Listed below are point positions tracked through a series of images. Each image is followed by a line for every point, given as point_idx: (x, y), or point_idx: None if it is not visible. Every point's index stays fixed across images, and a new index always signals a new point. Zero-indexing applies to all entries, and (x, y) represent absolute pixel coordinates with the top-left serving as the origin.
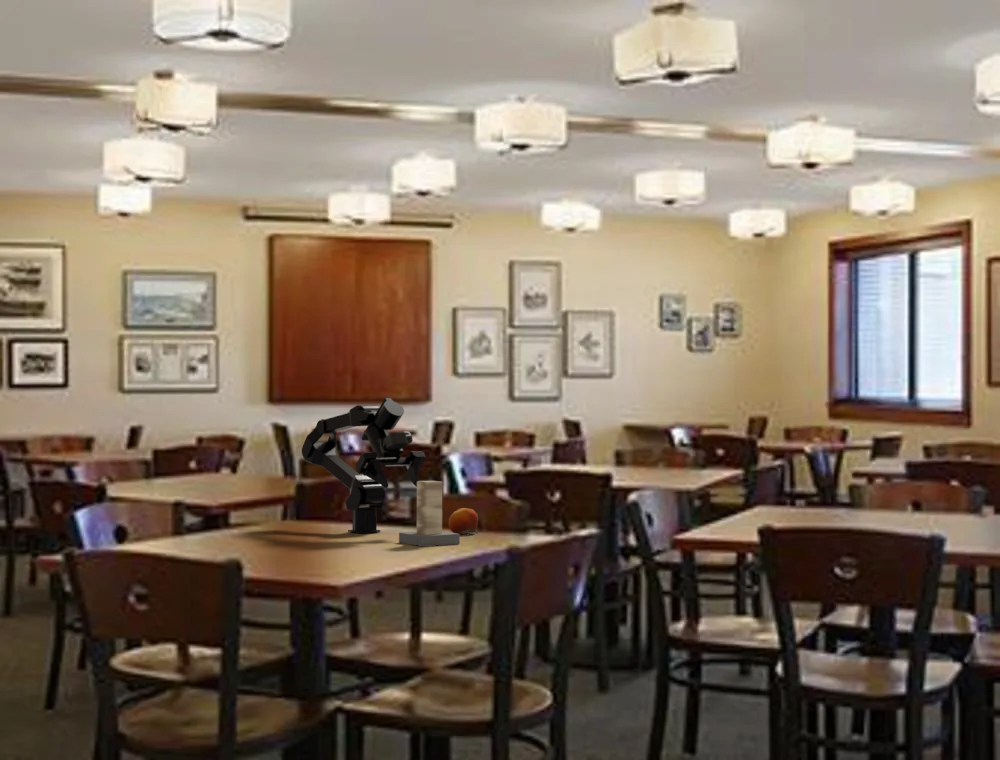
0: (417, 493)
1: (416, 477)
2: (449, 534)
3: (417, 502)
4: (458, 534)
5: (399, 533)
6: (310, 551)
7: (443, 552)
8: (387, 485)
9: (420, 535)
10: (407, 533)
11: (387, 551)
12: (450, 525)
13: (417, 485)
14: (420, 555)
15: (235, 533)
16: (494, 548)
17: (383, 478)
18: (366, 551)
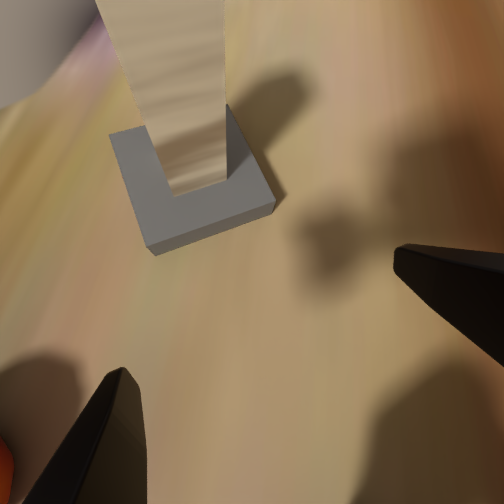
0: (222, 57)
1: (86, 441)
2: (142, 128)
3: (223, 97)
4: (113, 134)
5: (274, 199)
6: (460, 100)
7: None
8: (402, 245)
9: (228, 122)
10: (255, 173)
11: (312, 70)
12: (2, 477)
13: (221, 6)
14: (257, 12)
15: None
16: (71, 65)
17: (485, 253)
18: (353, 79)
